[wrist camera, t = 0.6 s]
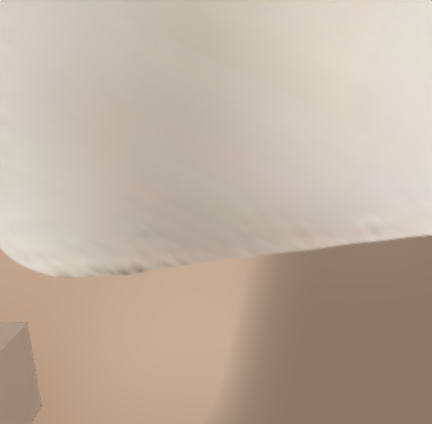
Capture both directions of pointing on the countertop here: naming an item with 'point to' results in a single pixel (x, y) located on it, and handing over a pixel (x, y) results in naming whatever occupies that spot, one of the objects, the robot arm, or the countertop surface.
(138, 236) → the countertop surface
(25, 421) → the robot arm
